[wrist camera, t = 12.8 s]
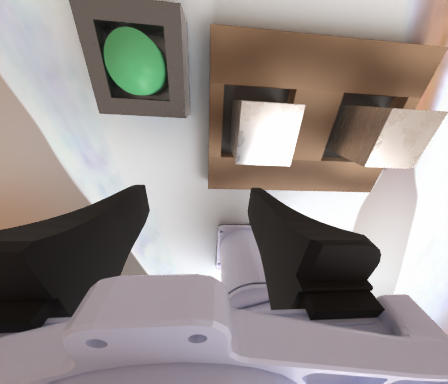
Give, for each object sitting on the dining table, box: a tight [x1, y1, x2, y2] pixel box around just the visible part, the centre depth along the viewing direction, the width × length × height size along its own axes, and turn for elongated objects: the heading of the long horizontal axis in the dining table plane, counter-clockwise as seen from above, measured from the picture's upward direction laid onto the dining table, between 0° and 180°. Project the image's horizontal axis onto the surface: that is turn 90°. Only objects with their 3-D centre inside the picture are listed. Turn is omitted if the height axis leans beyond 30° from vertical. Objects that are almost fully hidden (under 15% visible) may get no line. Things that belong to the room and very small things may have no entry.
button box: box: [69, 0, 190, 118], centre depth 14 cm, size 7×7×4 cm
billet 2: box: [325, 105, 448, 169], centre depth 16 cm, size 4×4×6 cm
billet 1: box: [229, 99, 306, 166], centre depth 15 cm, size 4×4×6 cm
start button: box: [104, 27, 168, 95], centre depth 14 cm, size 4×4×3 cm
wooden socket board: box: [208, 24, 448, 192], centre depth 18 cm, size 14×20×2 cm
